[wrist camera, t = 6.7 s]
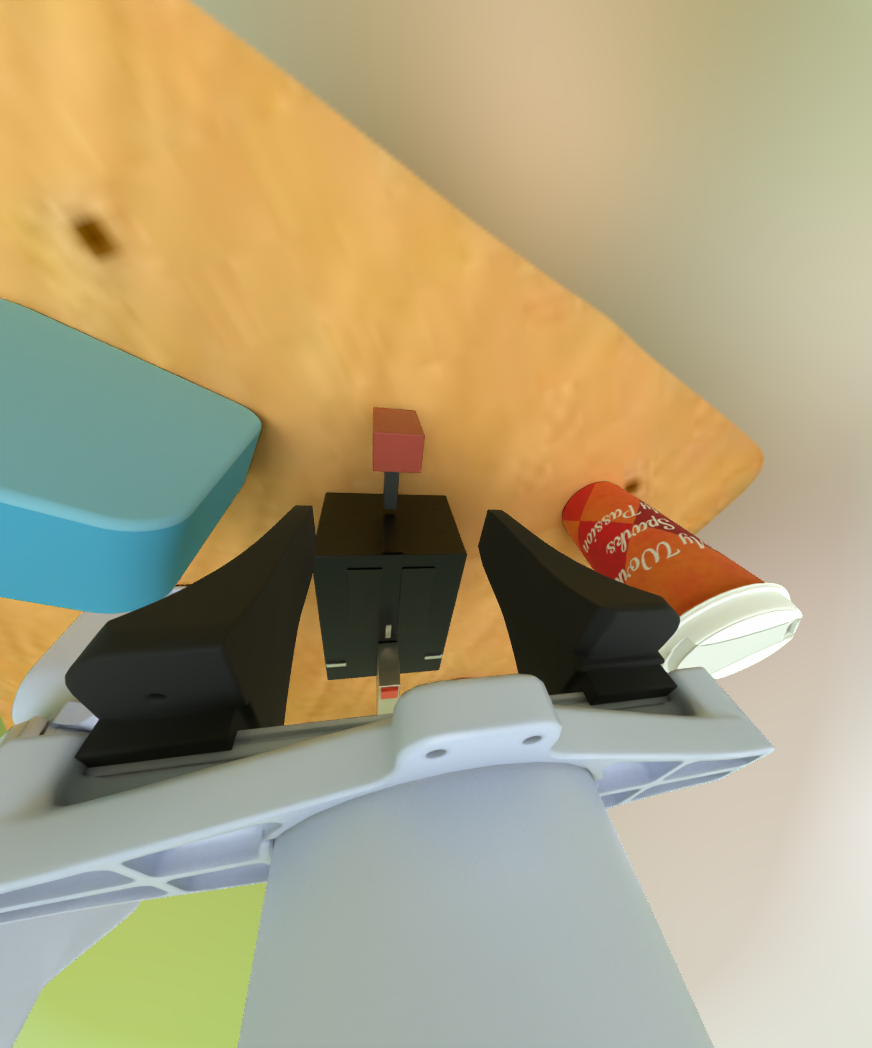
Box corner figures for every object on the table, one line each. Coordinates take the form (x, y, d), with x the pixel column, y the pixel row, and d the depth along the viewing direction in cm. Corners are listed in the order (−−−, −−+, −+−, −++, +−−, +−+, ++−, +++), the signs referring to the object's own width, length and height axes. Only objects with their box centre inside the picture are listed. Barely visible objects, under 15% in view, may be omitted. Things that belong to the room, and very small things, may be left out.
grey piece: (393, 675, 26) (396, 720, 23) (376, 676, 25) (376, 723, 23) (397, 641, 23) (401, 688, 20) (378, 643, 23) (379, 690, 20)
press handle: (371, 506, 21) (372, 543, 18) (373, 406, 17) (373, 431, 14) (407, 506, 22) (413, 543, 19) (415, 410, 18) (425, 435, 15)
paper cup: (629, 453, 25) (834, 580, 14) (637, 518, 30) (797, 653, 18) (539, 499, 26) (661, 649, 15) (559, 554, 31) (665, 702, 20)
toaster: (336, 622, 31) (329, 695, 26) (325, 492, 23) (310, 558, 17) (425, 618, 33) (436, 685, 28) (445, 495, 25) (468, 556, 19)
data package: (-5, 380, 16) (-560, 509, 6) (-15, 286, 14) (-837, 270, 4) (250, 475, 21) (150, 625, 12) (269, 416, 19) (167, 538, 10)
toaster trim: (353, 579, 26) (350, 637, 22) (351, 503, 22) (346, 555, 17) (415, 577, 27) (424, 632, 23) (424, 504, 23) (437, 554, 18)
